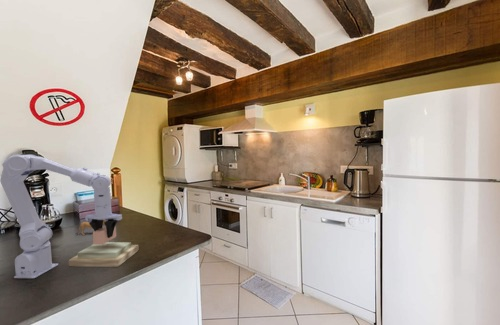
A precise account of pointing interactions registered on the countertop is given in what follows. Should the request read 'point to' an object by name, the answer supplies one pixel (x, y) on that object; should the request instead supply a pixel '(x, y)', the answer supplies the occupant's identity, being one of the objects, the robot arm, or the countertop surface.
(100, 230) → the terracotta brick
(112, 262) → the tower base
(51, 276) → the countertop surface
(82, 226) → the lion figurine
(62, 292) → the countertop surface
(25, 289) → the countertop surface
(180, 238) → the countertop surface
